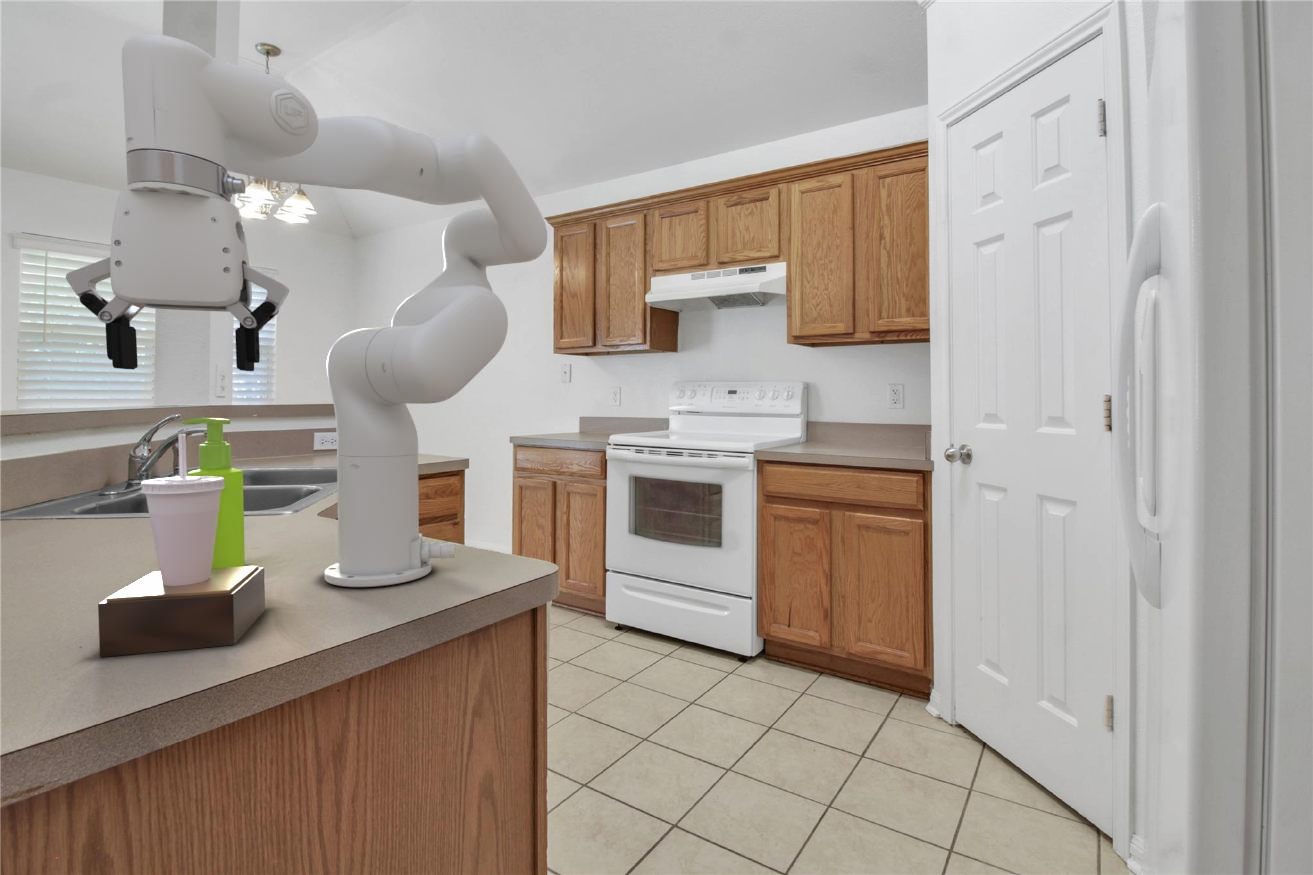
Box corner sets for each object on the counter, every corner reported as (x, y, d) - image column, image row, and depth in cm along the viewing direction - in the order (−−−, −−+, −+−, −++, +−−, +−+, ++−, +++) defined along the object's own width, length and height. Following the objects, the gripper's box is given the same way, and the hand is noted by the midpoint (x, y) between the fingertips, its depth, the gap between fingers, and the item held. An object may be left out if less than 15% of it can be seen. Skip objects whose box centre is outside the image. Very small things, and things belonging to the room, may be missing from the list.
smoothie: (220, 568, 65) (216, 432, 64) (234, 581, 60) (230, 434, 59) (139, 579, 60) (135, 433, 59) (148, 594, 55) (143, 436, 55)
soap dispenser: (209, 564, 86) (206, 417, 85) (255, 566, 85) (252, 418, 84) (170, 575, 80) (166, 418, 79) (219, 577, 79) (216, 418, 78)
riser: (265, 610, 67) (264, 564, 66) (234, 644, 57) (233, 590, 57) (152, 619, 64) (150, 570, 63) (99, 657, 54) (97, 600, 54)
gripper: (293, 206, 65) (298, 372, 66) (86, 188, 59) (95, 369, 60) (275, 183, 58) (281, 369, 59) (38, 159, 52) (49, 366, 53)
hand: (187, 369), depth 60 cm, fingers open, 9 cm apart
